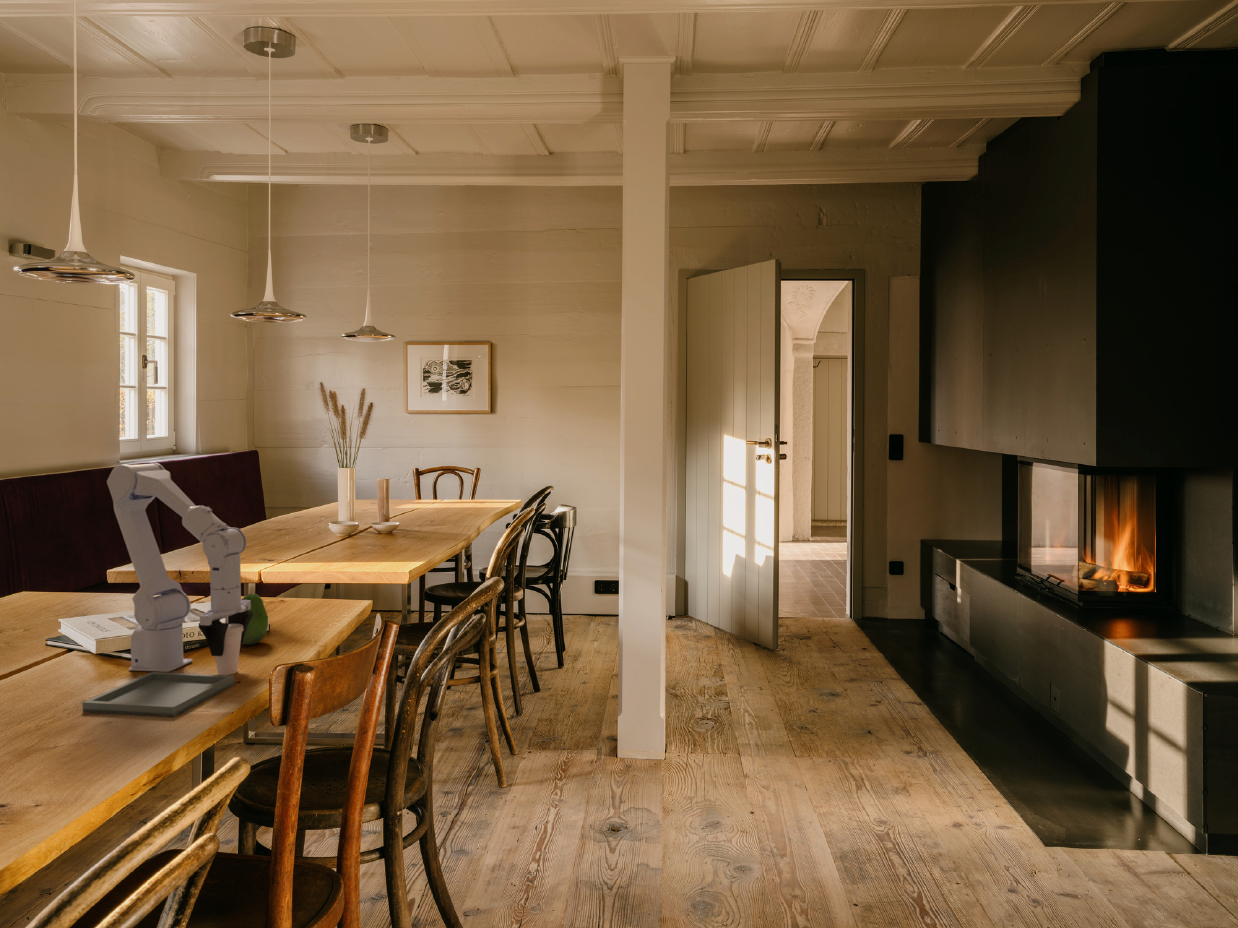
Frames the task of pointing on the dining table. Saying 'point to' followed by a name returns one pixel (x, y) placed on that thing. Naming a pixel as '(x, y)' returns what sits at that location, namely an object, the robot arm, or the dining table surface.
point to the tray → (159, 694)
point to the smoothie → (230, 650)
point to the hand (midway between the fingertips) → (227, 650)
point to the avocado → (256, 620)
